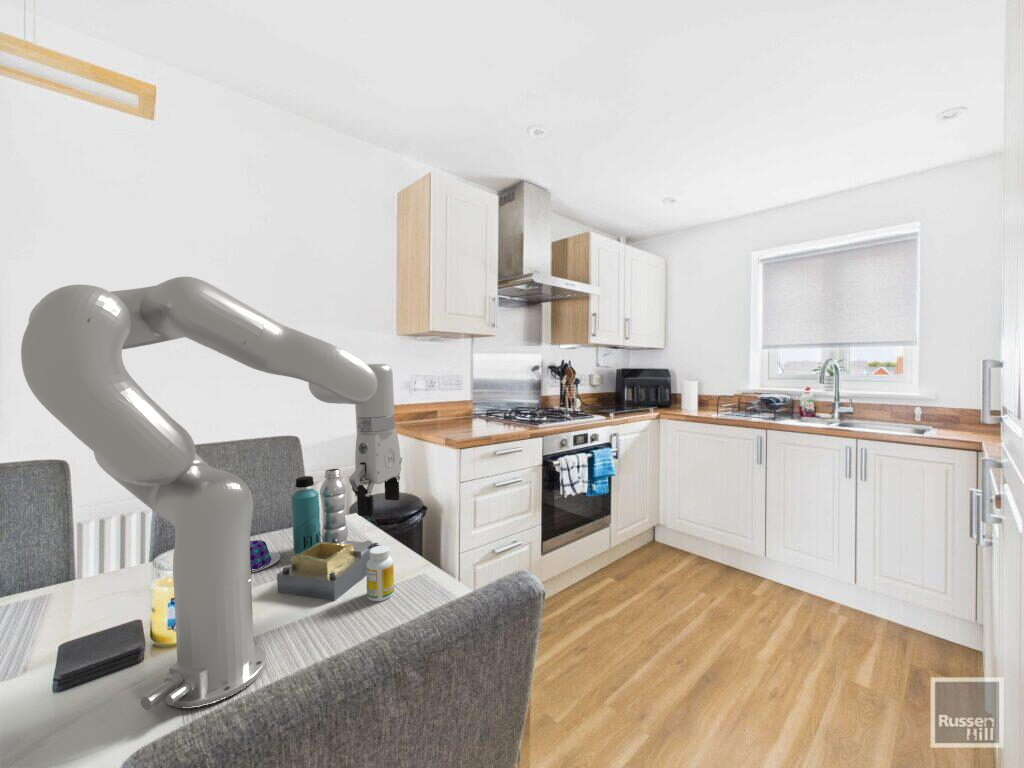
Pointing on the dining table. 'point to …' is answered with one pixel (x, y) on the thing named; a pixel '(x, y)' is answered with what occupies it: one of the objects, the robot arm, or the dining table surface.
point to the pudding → (261, 555)
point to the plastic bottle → (333, 507)
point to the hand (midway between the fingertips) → (379, 507)
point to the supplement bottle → (380, 574)
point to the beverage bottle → (305, 515)
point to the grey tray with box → (326, 569)
